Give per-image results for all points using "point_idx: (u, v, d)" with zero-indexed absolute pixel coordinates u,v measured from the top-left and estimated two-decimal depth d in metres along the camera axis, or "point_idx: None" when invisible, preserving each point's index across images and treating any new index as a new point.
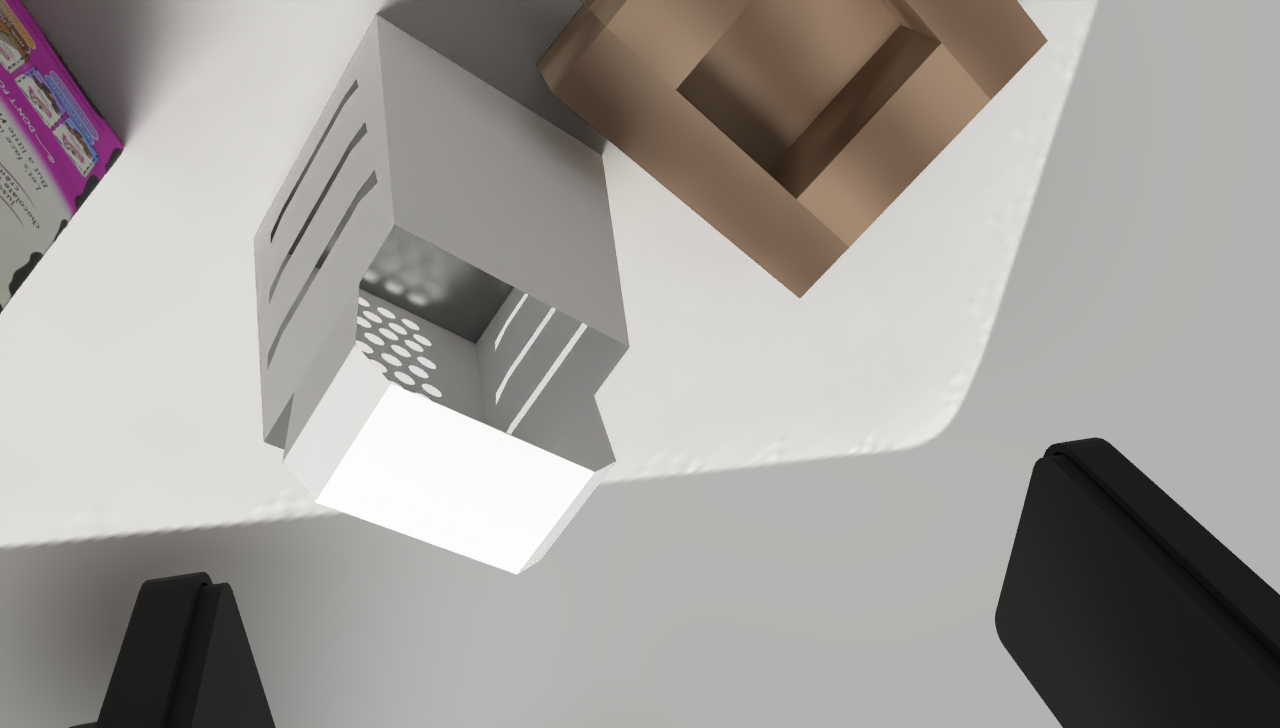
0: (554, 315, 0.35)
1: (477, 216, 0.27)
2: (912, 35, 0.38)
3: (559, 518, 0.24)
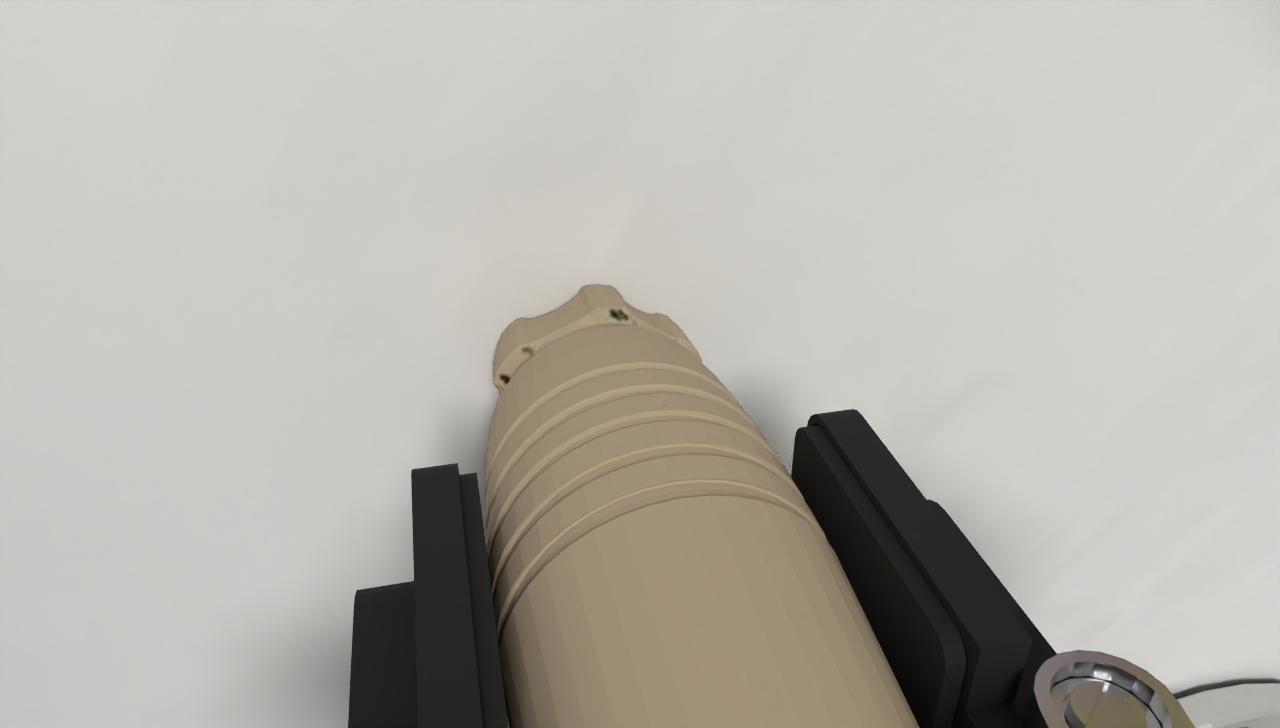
0: None
1: None
2: None
3: None
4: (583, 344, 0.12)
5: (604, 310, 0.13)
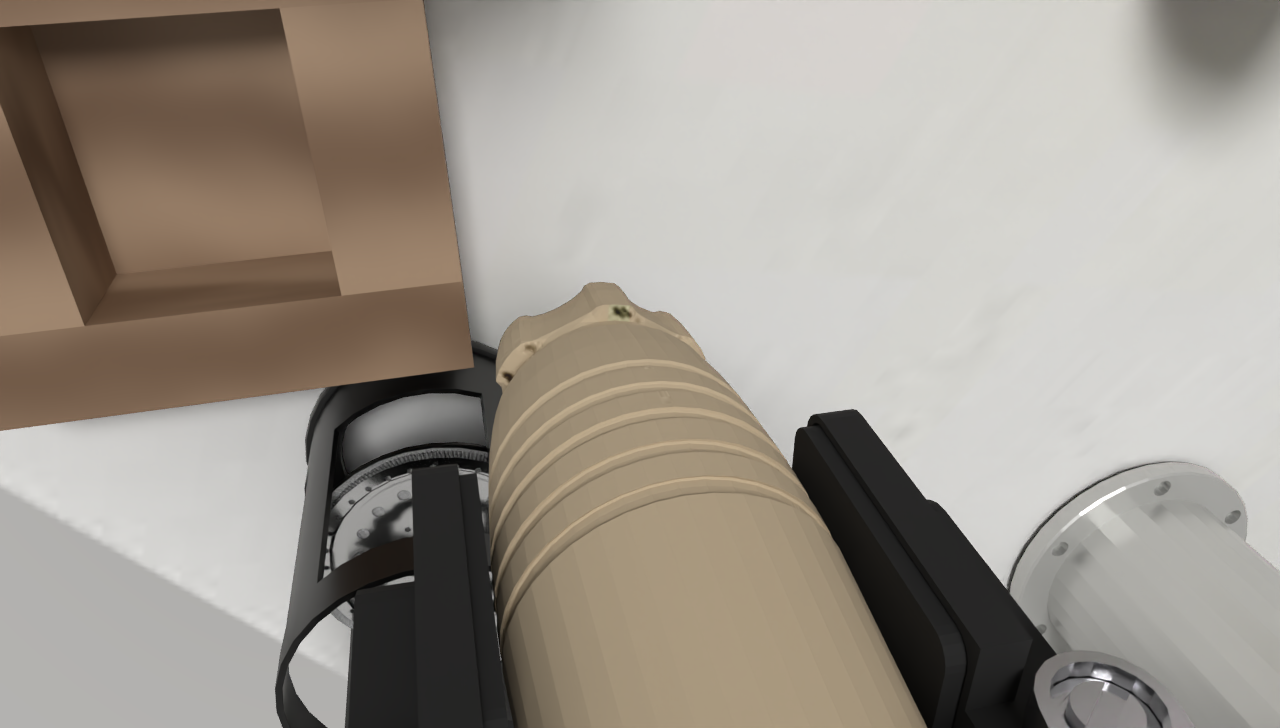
0: None
1: None
2: (102, 287, 0.28)
3: None
4: (586, 341, 0.12)
5: (607, 307, 0.13)
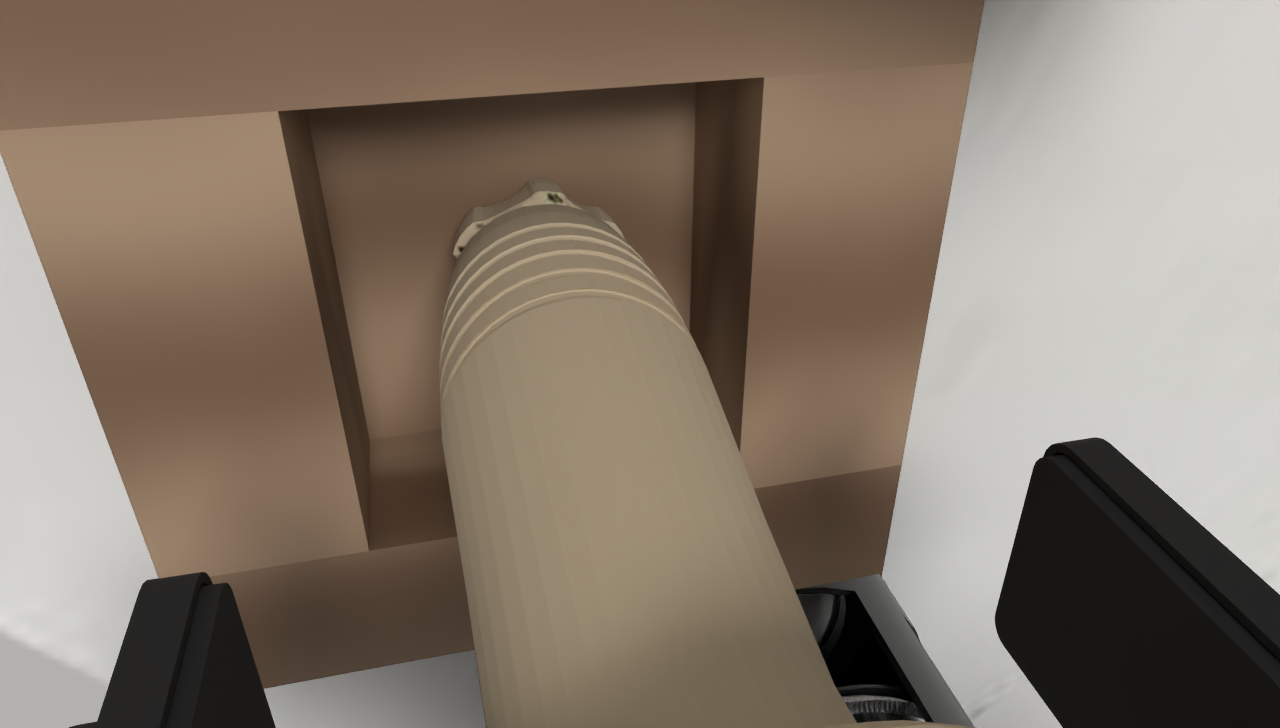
0: None
1: None
2: (367, 471, 0.19)
3: None
4: (521, 214, 0.16)
5: (543, 194, 0.17)
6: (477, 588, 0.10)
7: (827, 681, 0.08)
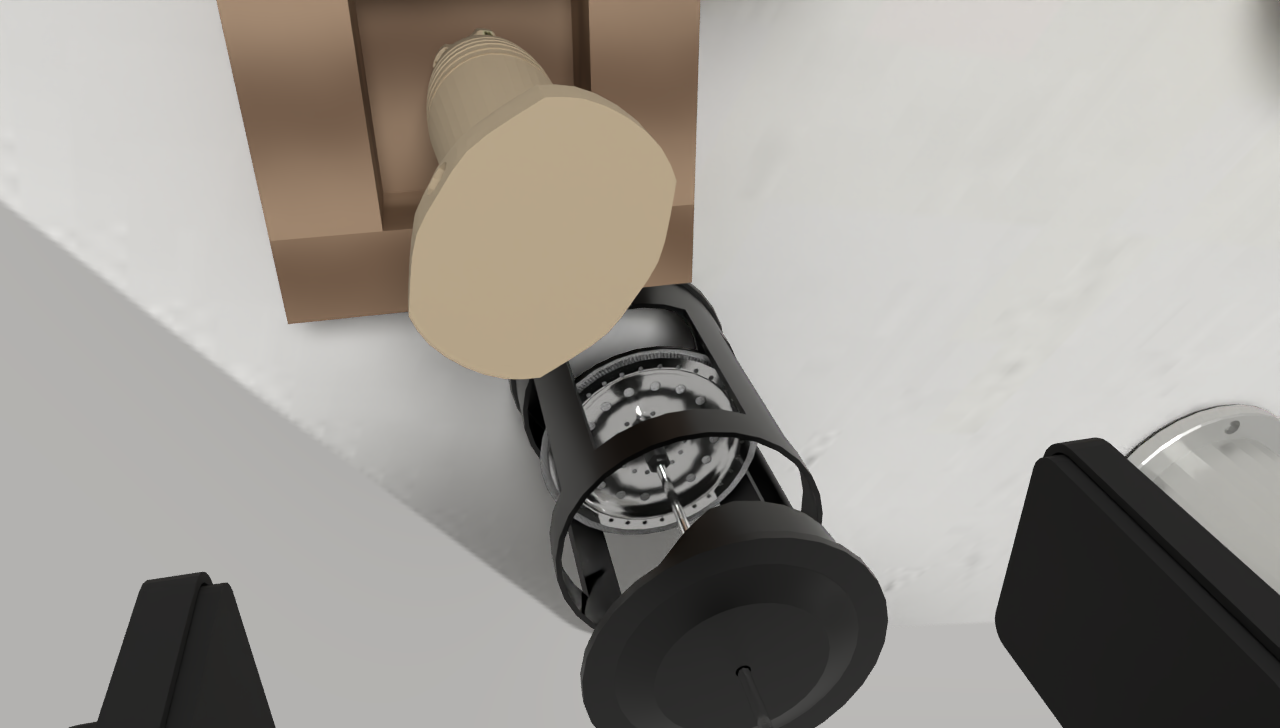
0: None
1: None
2: (382, 202, 0.32)
3: None
4: (469, 37, 0.29)
5: (482, 32, 0.30)
6: (445, 148, 0.23)
7: None
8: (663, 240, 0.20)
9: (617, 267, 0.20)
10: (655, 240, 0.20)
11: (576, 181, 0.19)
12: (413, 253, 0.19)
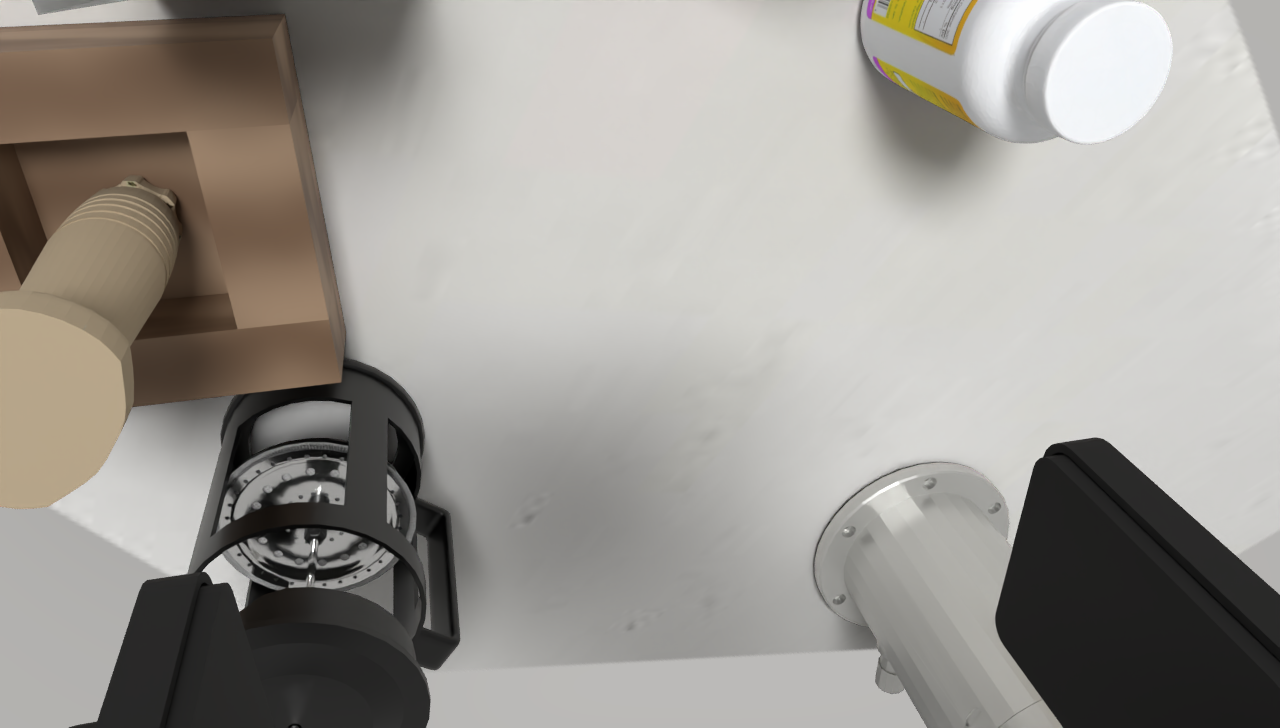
0: None
1: None
2: None
3: None
4: (104, 190, 0.35)
5: (126, 182, 0.36)
6: None
7: None
8: (124, 404, 0.26)
9: (89, 425, 0.26)
10: (116, 404, 0.26)
11: (31, 366, 0.24)
12: None
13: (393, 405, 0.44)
